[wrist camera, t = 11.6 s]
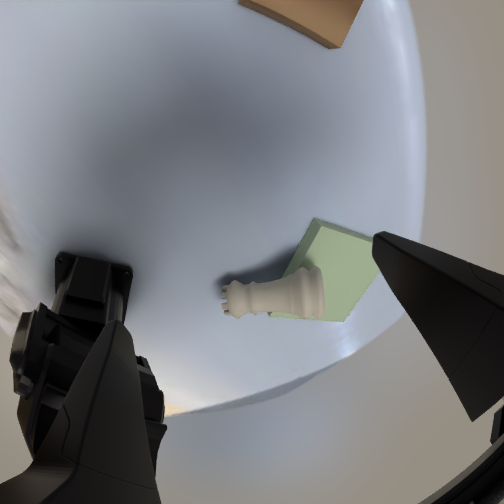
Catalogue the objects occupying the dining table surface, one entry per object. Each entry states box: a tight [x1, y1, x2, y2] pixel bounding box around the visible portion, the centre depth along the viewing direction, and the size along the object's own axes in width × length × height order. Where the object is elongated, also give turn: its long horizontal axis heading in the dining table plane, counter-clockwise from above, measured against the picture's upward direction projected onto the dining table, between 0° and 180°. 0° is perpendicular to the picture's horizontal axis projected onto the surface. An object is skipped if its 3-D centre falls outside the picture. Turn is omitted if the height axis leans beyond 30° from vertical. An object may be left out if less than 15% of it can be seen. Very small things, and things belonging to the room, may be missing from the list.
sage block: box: [267, 218, 380, 322], centre depth 27 cm, size 10×10×2 cm
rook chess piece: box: [221, 265, 325, 320], centre depth 23 cm, size 4×4×8 cm
